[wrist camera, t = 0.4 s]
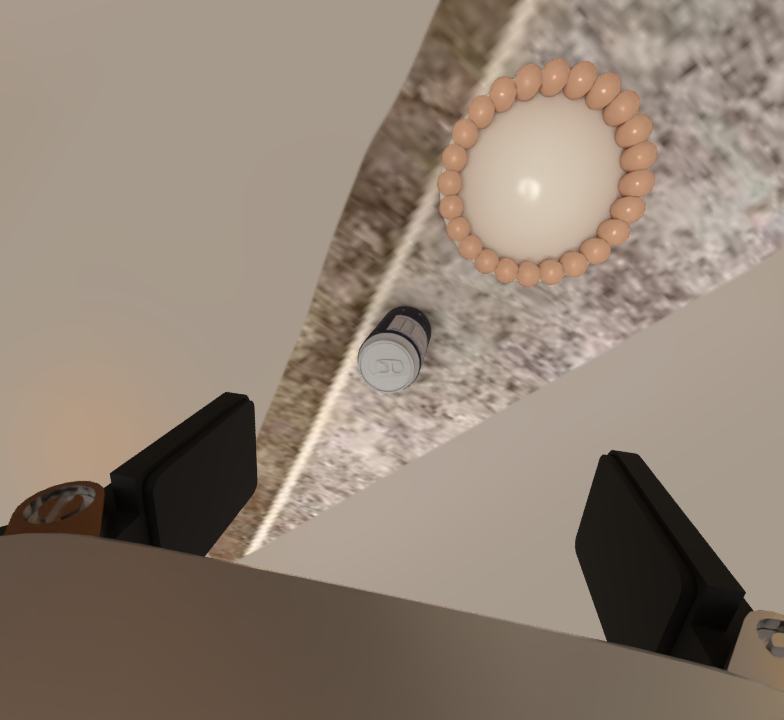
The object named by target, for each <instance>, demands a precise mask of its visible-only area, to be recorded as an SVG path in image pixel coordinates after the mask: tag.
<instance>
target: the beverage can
mask: <svg viewBox="0 0 784 720" xmlns="http://www.w3.org/2000/svg"><path fill="white" fill-rule="evenodd" d="M430 337H431V327H430V324H429V321H428V319H427V318H426V317H425V315H424V314H423V313H421V312H420V311H419V310H417V309H415V308H412V307H398V308H395V309H393V310H391V311H390V312H389V313H388V314H387V315H386V316H385V317H384V318H383V319H382V321H381V322H380V323H379V324H378V325H377V327H376V328H375V329H374V330H373V331H372V333H371V334H370V335H369V336H368V337H367V339H366V340H365V341H364V342H363V344H362V345H361V347H360V350H359V353H358V367H359V372H360V375H361V377H362V379H363V380H364V382H365V383H366V384H367V385H368V386H369V387H371V388H372V389H374V390H376V391H378V392H381V393H395V392H398V391H401V390H402V389H405V388H407V387H408V386H410V385H411V384H412V383H413V382H414V381H415V380H416V378H417V376H418V374H419V372H420V368H421V365H422V362H423V359H424V356H425V353H426V350H427V347H428V344H429V340H430Z"/></svg>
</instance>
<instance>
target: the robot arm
mask: <svg viewBox="0 0 784 720" xmlns="http://www.w3.org/2000/svg"><path fill="white" fill-rule="evenodd" d="M110 478H111V484H109V485H107V486H106V487H105V488H103V487H102V486H101V485H100V484H98V483H95V482H91V481H74V482H67V483H63V484H59V485H55V486H52V487H50V488H47V489H45V490H43V491H40V492H38V493H36V494H34V495H33V496H31V497H29V498H27V499H26V500H25V501H24V502H22V503H21V504H20V505H19V506H18V507H17V508H16V510H15V511H14V513H13V514H12V516H11V519H10V521H9V524H8V525H6V526H2V527H0V720H784V615H782V614H779V613H775V612H772V611H764V610H757V611H753V610H752V608H751V607H750V606H749V604H748V603H747V602H746V600H745V599H744V598H743V597H744V595H745V593H746V592H745V591H744V589H743V588H742V587H741V585H740V584H739V583H738V582H737V580H736V579H735V578H734V577H733V575H732V574H731V573H730V571H729V570H728V569H727V567H726V566H725V565H724V564H723V562H722V561H721V560H720V558H719V557H718V556H717V555H716V553H715V552H714V551H713V549H712V548H711V547H710V546H709V544H708V543H707V542H706V540H705V539H704V538H703V537H702V535H701V534H700V533H699V531H698V530H697V529H696V528H695V526H694V525H693V524H692V522H691V521H690V520H689V519H688V518H687V516H686V515H685V513H684V512H683V511H682V510H681V508H680V507H679V506H678V504H677V503H676V502H675V501H674V500H673V498H672V497H671V495H670V494H669V493H668V492H667V491H666V489H665V488H664V486H663V485H662V484H661V483H660V481H659V480H658V479H657V478H656V476H655V475H654V474H653V472H652V471H651V470H650V469H649V467H648V466H647V465H646V463H645V462H644V461H643V460H642V458H641V457H640V456H639V455H638V454H635V453H629V452H622V451H615V450H611V451H610V452H609V453H608V455H602V456H601V457H600V459H599V462H598V466H597V469H596V473H595V476H594V479H593V482H592V486H591V489H590V493H589V496H588V499H587V502H586V506H585V509H584V512H583V516H582V519H581V523H580V526H579V529H578V533H577V536H576V540H575V549H576V554H577V557H578V560H579V563H580V566H581V569H582V571H583V574H584V577H585V580H586V583H587V586H588V588H589V591H590V594H591V597H592V600H593V603H594V605H595V608H596V611H597V614H598V617H599V620H600V623H601V625H602V628H603V631H604V634H605V637H606V640H607V641H602V640H598V639H593V638H588V637H584V636H578V635H574V634H570V633H565V632H560V631H556V630H551V629H547V628H542V627H537V626H532V625H528V624H523V623H518V622H514V621H509V620H505V619H500V618H496V617H490V616H486V615H482V614H477V613H472V612H468V611H463V610H458V609H454V608H449V607H444V606H439V605H435V604H430V603H425V602H421V601H416V600H411V599H407V598H402V597H397V596H392V595H388V594H383V593H378V592H373V591H368V590H364V589H359V588H354V587H349V586H344V585H340V584H335V583H330V582H325V581H321V580H316V579H311V578H306V577H301V576H297V575H292V574H287V573H282V572H277V571H272V570H267V569H262V568H257V567H252V566H247V565H242V564H238V563H233V562H228V561H223V560H218V559H213V558H208V557H205V555H206V554H207V553H208V552H209V550H210V549H211V548H212V547H213V545H214V544H215V543H216V541H217V540H218V539H219V538H220V536H221V535H222V534H223V532H224V531H225V530H226V528H227V527H228V526H229V525H230V523H231V522H232V521H233V519H234V518H235V517H236V516H237V514H238V513H239V512H240V510H241V509H242V508H243V507H244V505H245V504H246V503H247V501H248V500H249V499H250V498H251V496H252V495H253V493H254V492H255V489H256V486H257V458H256V434H255V411H254V403H253V402H252V401H250V400H249V398H248V396H247V395H244V394H237V393H230V392H225V393H223V394H222V395H221V396H219V397H218V398H216V399H215V400H213V401H212V402H211V403H209V404H208V405H206V406H205V407H203V408H202V409H201V410H199V411H198V412H196V413H195V414H193V415H192V416H191V417H189V418H188V419H186V420H185V421H184V422H182V423H181V424H179V425H178V426H177V427H175V428H174V429H172V430H171V431H169V432H168V433H167V434H165V435H164V436H162V437H161V438H159V439H158V440H157V441H155V442H154V443H152V444H151V445H149V446H148V447H147V448H145V449H144V450H142V451H141V452H139V453H138V454H137V455H135V456H134V457H132V458H131V459H130V460H128V461H127V462H125V463H124V464H122V465H121V466H120V467H118V468H117V469H115V470H114V471H113V472H111V473H110Z"/></svg>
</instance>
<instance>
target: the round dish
mask: <svg viewBox="0 0 784 720" xmlns="http://www.w3.org/2000/svg"><path fill="white" fill-rule="evenodd" d="M620 90H621V80H620V78H619V76H618V75H617V74H615V73H613V72H606V73H603V74H601V75H600V76H599V77H598V78H597V69H596V67H595V65H594V64H593V63H591V62H588V61H583V62H580V63H578V64H576V65H575V66H574V67H573V68H572V69H570V66H569V64H568V63H567V62H566V61H565V60H564V59H560V58H557V59H553V60H551V61H550V62H548V63H547V64H546V66H545V67H544V69H543V70H541V69H540V68H539V67H538V66H537V65H535V64H527V65H524V66H523V67H521V68H520V69H519V71H518V72H517V74H516V76H515V78H513V79H512V78H510V77H500V78H498V79H497V80H496V81H495V82H494V83H493V84H492V86H491V89H490V93H488V94H487V95H486V96H485V95H481V96H478V97H476V98H475V99H474V100H473V101H472V102H471V104H470V106H469V110H468V114H467V116H466V117H465V118H464V119H461V120H459V121H458V122H457V123H456V124H455V126H454V128H453V131H452V137H453V138H452V140H451V142H450V144H449V146H448V147H446V148H445V150H444V151H443V154H442V163H443V167H442V172H441V175H440V176H439V178H438V183H437V185H438V189H439V191H440V200H441V202H440V205H439V211H440V214H441V215H442V216H443V217H444V220H445V223H446V226H447V229H446V231H447V235H448V237H449V238H450V239H451V240H453V241H454V242H455V244H456V245H457V247H458V248H459V253H460V255H461V256H462V257H463V258H465V259H468V260H470V261H471V262H472V263H474V264H475V266H476V268H477V270H478V271H479V272H481V273H484V274H492V275H494V276H496V278H497V279H498V280H499V281H500V282H503V283H509V282H512V281H517V282H519V283H520V284H521V285H522V286H525V287H530V286H533V285H535V284H536V283H537V282H541V281H543V282H544V283H545V284H548V285H554V284H557V283H559V282H560V281H561V280H562V279H563V277H564V276H565V275H568V276H570V277H578V276H581V275H582V274H583V273H585V271H586V270H587V268H588V264H589V263H592V264H599V263H602V262H604V261H605V260H606V259H607V258H608V257H609V255H610V251H611V248H610V246H611V245H613V246H616V245H620V244H622V243H623V242H625V241H626V240H627V238H628V237H629V234H630V227H629V225H628V223H632V222H635V221H637V220H638V219H640V218H641V217H642V215H643V214H644V211H645V202H644V201H643V199H642V198H640V197H642V196H645V195H646V194H648V193H649V192H650V191H651V190H652V188H653V186H654V183H655V178H654V175H653V173H652V172H651V171H649V170H647V168H649V167H650V166H651V165H652V164H653V163H654V162H655V160H656V158H657V148H656V146H655V145H654V144H653V143H652V142H650V141H645V140H646V139H647V138H648V137H649V136H650V134H651V132H652V127H653V125H652V121H651V119H650V117H648V116H647V115H645V114H637V112H638V110H639V108H640V98H639V96H638V94H637V93H636V92H634V91H631V90H626V91H623V92H621V93H620ZM636 114H637V115H636Z"/></svg>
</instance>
